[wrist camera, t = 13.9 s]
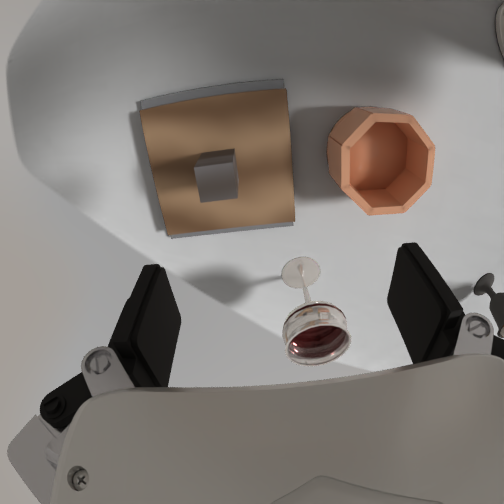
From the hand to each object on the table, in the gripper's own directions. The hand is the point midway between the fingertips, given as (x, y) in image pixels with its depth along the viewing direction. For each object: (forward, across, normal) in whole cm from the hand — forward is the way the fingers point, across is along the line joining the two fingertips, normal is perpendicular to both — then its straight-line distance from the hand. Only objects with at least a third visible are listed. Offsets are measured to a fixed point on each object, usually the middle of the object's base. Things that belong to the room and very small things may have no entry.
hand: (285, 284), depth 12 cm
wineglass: (+21, -3, +16) cm, 27 cm away
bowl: (+22, -12, +1) cm, 24 cm away
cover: (+20, +4, +1) cm, 21 cm away
